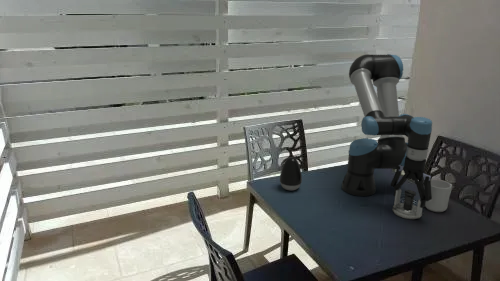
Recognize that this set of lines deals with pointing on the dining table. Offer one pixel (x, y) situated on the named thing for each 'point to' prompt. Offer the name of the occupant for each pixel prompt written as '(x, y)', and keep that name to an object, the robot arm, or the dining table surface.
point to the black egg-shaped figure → (291, 174)
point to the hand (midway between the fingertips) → (407, 208)
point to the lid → (407, 206)
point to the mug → (439, 195)
